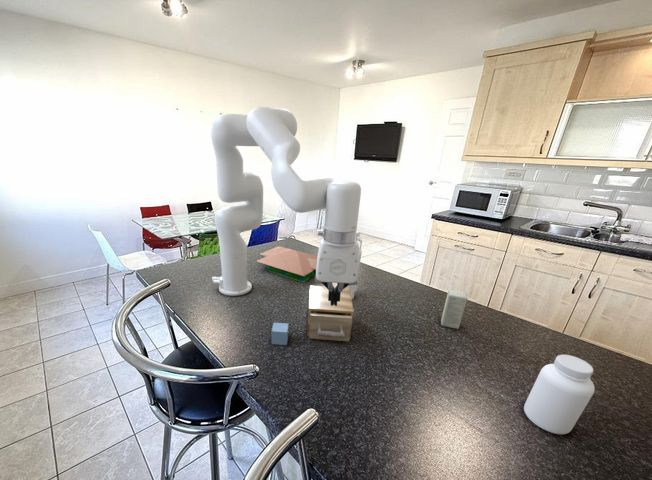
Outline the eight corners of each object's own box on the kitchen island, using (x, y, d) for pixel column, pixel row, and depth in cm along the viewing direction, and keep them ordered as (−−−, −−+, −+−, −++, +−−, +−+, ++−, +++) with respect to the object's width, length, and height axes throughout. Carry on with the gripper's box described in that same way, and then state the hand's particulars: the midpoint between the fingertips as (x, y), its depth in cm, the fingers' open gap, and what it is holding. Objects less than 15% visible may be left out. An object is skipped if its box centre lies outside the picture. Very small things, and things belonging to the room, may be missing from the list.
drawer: (350, 352, 79) (354, 328, 76) (308, 348, 80) (310, 325, 77) (345, 316, 96) (347, 295, 92) (310, 313, 97) (311, 292, 93)
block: (271, 344, 83) (271, 331, 81) (273, 334, 87) (273, 322, 85) (286, 345, 83) (287, 332, 81) (288, 335, 87) (288, 323, 85)
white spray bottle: (364, 294, 112) (373, 230, 101) (344, 304, 104) (352, 236, 94) (350, 287, 116) (357, 226, 106) (330, 297, 109) (336, 232, 99)
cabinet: (350, 339, 86) (353, 311, 82) (306, 336, 87) (308, 308, 83) (345, 313, 99) (348, 287, 95) (308, 310, 100) (309, 285, 96)
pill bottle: (513, 404, 65) (538, 350, 59) (546, 402, 66) (574, 349, 60) (544, 437, 58) (577, 379, 52) (581, 434, 59) (618, 377, 53)
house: (309, 285, 118) (310, 266, 114) (248, 265, 135) (247, 248, 132) (335, 267, 135) (337, 251, 131) (278, 252, 152) (278, 237, 149)
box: (458, 322, 95) (467, 292, 91) (458, 329, 92) (468, 298, 87) (440, 318, 97) (448, 288, 92) (440, 325, 94) (448, 294, 89)
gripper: (307, 239, 67) (304, 308, 75) (374, 242, 66) (364, 312, 73) (308, 230, 74) (305, 294, 81) (369, 232, 73) (360, 298, 80)
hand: (333, 303), depth 77 cm, fingers closed
